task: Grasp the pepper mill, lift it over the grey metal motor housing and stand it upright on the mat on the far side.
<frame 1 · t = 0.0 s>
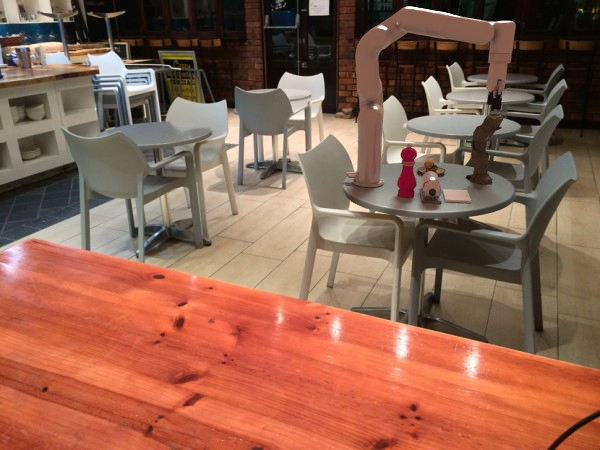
hand: (493, 107, 182), 31 cm above the table, tool pointing down, fingers open, 9 cm apart
far mat: (456, 196, 184), on the table
brown tall irregular piece: (479, 181, 201), on the table
pepper mill: (406, 195, 188), on the table
brown orange lobed cluster: (430, 173, 213), on the table
motor housing: (430, 195, 186), on the table
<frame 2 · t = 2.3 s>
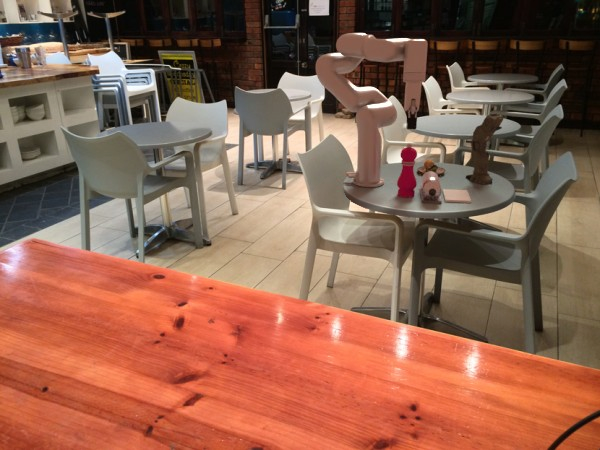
hand: (411, 126, 177), 26 cm above the table, tool pointing down, fingers open, 9 cm apart
nothing on the table moved.
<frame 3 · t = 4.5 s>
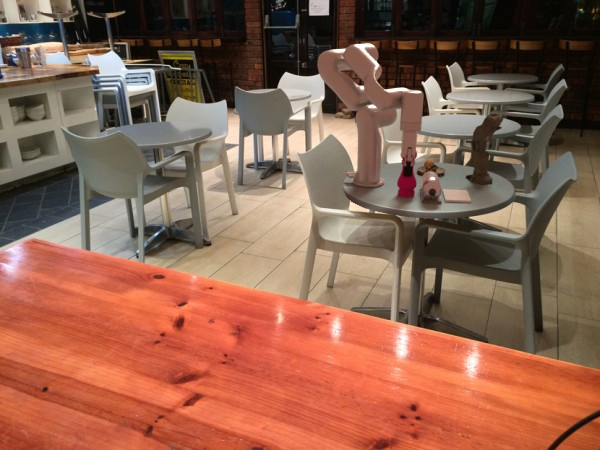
hand: (407, 173, 184), 8 cm above the table, tool pointing down, fingers closed on pepper mill, 5 cm apart
pepper mill: (406, 195, 188), on the table, touching gripper
everything else where it was.
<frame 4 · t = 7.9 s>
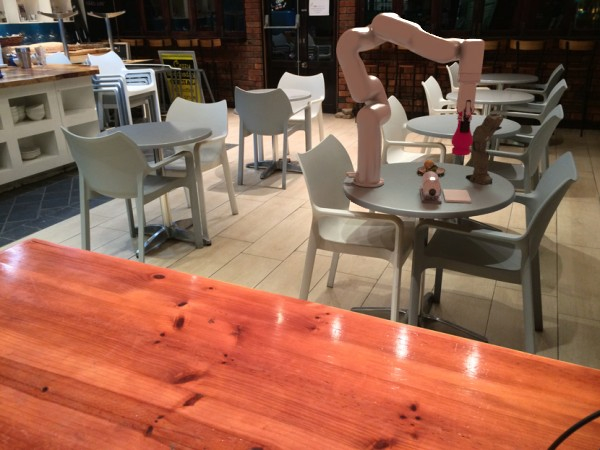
hand: (463, 130, 175), 25 cm above the table, tool pointing down, fingers closed on pepper mill, 5 cm apart
pepper mill: (460, 153, 178), point 17 cm above the table, touching gripper
everything else where it was.
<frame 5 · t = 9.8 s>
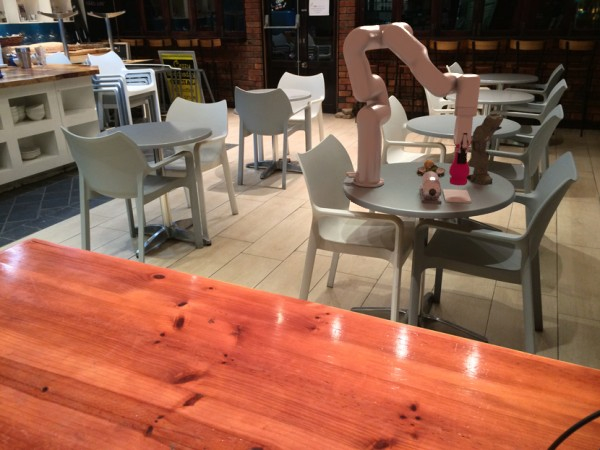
hand: (460, 161, 179), 14 cm above the table, tool pointing down, fingers closed on pepper mill, 5 cm apart
pepper mill: (458, 183, 182), point 5 cm above the table, touching gripper
everything else where it was.
when the fingers open (11 cm above the table, at t = 11.2 s): pepper mill drops 2 cm, resting on far mat.
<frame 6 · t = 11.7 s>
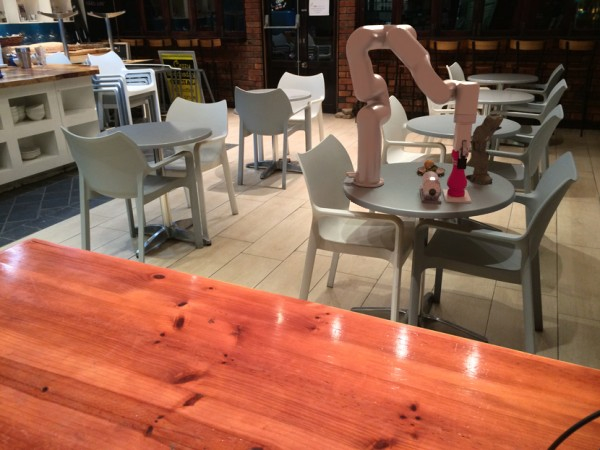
hand: (459, 165, 180), 12 cm above the table, tool pointing down, fingers open, 9 cm apart
pepper mill: (455, 195, 184), point 1 cm above the table, touching far mat
everything else where it was.
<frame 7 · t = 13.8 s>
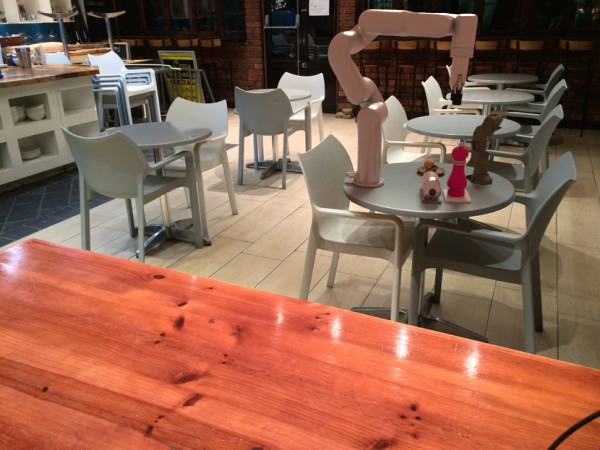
hand: (455, 102, 177), 34 cm above the table, tool pointing down, fingers open, 9 cm apart
nothing on the table moved.
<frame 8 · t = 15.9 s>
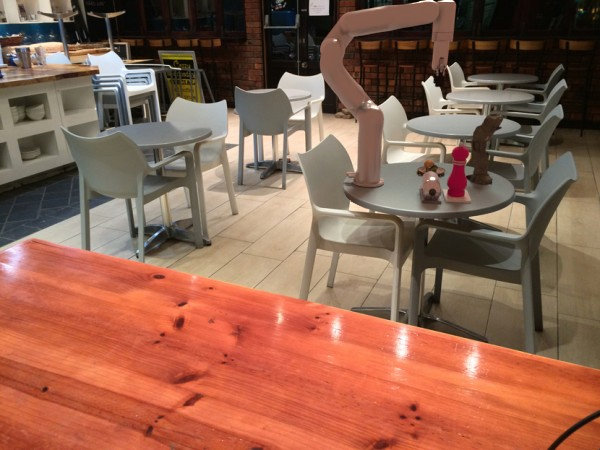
hand: (438, 85, 188), 38 cm above the table, tool pointing down, fingers open, 9 cm apart
nothing on the table moved.
at the end: pepper mill inside the target area on the far mat (0.2 cm from its centre), point 0.6 cm above the far mat's base; pepper mill tilted 0°; the gripper is holding nothing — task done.
